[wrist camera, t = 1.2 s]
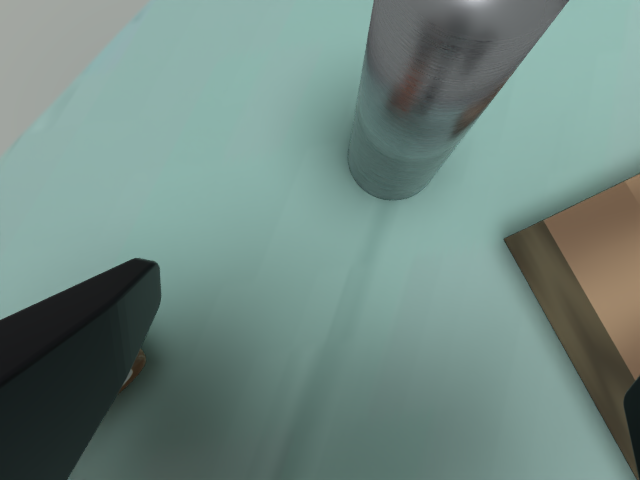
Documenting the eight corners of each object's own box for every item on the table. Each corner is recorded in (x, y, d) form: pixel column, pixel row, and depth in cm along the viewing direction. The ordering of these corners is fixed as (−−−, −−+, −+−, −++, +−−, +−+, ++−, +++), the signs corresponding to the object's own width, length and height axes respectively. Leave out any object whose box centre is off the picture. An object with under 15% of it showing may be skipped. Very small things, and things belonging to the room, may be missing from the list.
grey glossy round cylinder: (451, 177, 23) (621, -11, 10) (372, 214, 22) (442, 69, 10) (411, 102, 23) (520, -162, 11) (333, 137, 23) (350, -94, 10)
